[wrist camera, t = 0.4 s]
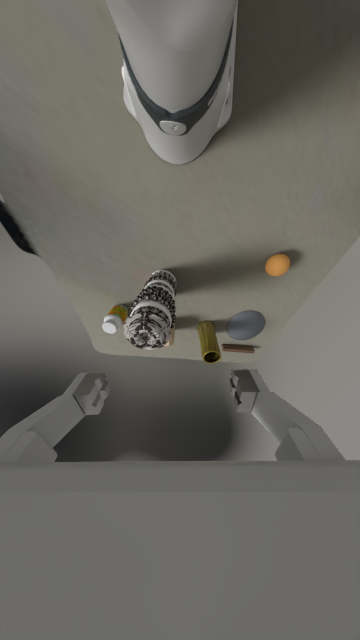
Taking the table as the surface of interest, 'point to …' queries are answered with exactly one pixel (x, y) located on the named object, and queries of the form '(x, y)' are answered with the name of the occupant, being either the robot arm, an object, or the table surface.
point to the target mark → (245, 325)
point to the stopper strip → (237, 348)
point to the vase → (208, 342)
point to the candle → (170, 337)
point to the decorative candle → (152, 312)
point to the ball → (277, 265)
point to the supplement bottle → (115, 319)
